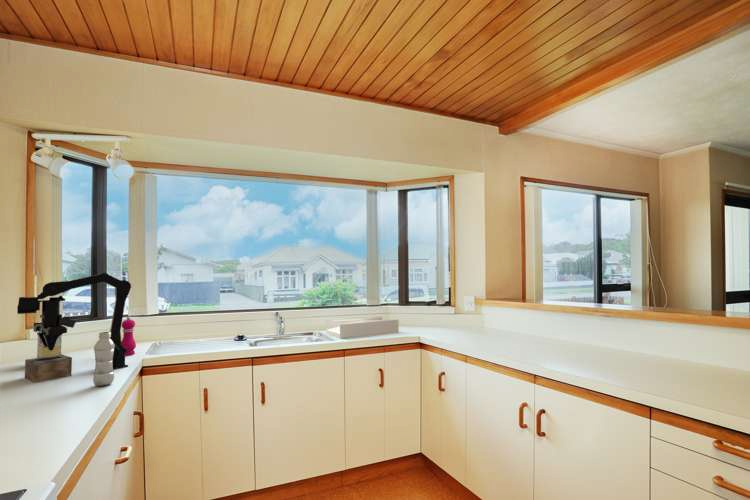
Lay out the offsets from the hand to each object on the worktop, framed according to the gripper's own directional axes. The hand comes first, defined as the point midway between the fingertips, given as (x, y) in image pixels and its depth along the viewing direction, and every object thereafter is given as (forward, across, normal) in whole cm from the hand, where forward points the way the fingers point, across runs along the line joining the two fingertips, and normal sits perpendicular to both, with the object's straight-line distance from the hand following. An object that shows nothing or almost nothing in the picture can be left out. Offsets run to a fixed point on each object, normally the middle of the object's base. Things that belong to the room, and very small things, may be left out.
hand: (49, 349), depth 160 cm
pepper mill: (+11, +18, -38) cm, 43 cm away
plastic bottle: (+11, -34, -7) cm, 36 cm away
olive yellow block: (+2, 0, 0) cm, 2 cm away
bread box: (+12, -47, -159) cm, 166 cm away
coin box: (+11, 0, 0) cm, 11 cm away
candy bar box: (+11, +28, -8) cm, 31 cm away
